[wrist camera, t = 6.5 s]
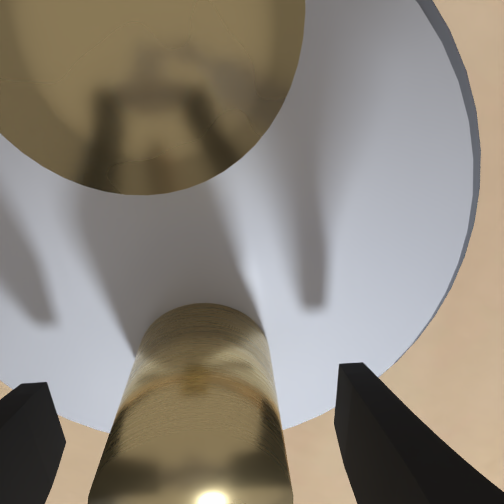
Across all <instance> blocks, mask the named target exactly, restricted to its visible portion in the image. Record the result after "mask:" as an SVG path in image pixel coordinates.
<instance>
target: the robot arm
mask: <svg viewBox="0 0 504 504" xmlns="http://www.w3.org/2000/svg"><path fill="white" fill-rule="evenodd" d="M334 426H335V430H336V434H337V439H338V443H339V447H340V451H341V455H342V459H343V463H344V467H345V470H346V472H347V475H348V478H349V481H350V484H351V487H352V490H353V492H354V495H355V498H356V501H357V504H504V492H503V491H502V490H500V489H499V488H498V487H497V486H495V485H494V484H493V483H491V482H490V481H489V480H488V479H487V478H485V477H484V476H483V475H482V474H480V473H479V472H478V471H477V470H476V469H474V468H473V467H472V466H471V465H470V464H469V463H467V462H466V461H465V460H464V459H463V458H462V457H461V456H459V455H458V454H457V453H456V452H455V451H454V450H453V449H451V448H450V447H449V446H448V445H447V444H446V443H445V442H444V441H443V440H441V439H440V438H439V437H438V436H437V435H436V434H435V433H434V432H433V431H432V430H431V429H430V428H429V427H428V426H426V425H425V424H424V423H423V422H422V421H421V420H420V419H419V418H418V417H417V416H416V415H415V414H414V413H413V412H412V411H411V410H410V409H409V408H408V407H407V406H406V405H405V404H404V403H403V402H402V401H401V400H400V399H399V398H398V397H397V396H396V395H395V394H394V393H393V392H392V391H391V390H390V389H389V388H388V387H387V386H386V385H385V384H384V383H383V382H382V381H381V380H380V379H379V378H378V377H377V376H376V375H375V374H374V373H373V372H372V371H371V370H370V369H369V368H368V367H367V366H366V365H365V364H364V363H363V362H358V363H342V364H339V369H338V381H337V393H336V405H335V417H334ZM65 444H66V440H65V437H64V434H63V431H62V428H61V425H60V421H59V418H58V415H57V412H56V409H55V406H54V403H53V399H52V396H51V393H50V390H49V387H48V384H47V382H37V383H21V384H20V385H19V386H17V387H16V388H15V389H13V390H12V391H11V392H10V393H8V394H7V395H6V396H4V397H3V398H2V399H1V400H0V504H45V502H46V499H47V497H48V495H49V492H50V490H51V488H52V485H53V482H54V479H55V476H56V473H57V470H58V467H59V464H60V460H61V457H62V454H63V451H64V447H65Z"/></svg>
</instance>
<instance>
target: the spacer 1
mask: <svg viewBox="0 0 504 504" xmlns="http://www.w3.org/2000/svg"><path fill="white" fill-rule="evenodd" d="M305 11H306V10H305V0H0V134H1V135H2V136H3V137H5V138H6V139H7V140H8V141H9V142H10V143H12V144H13V145H14V146H15V147H16V148H18V149H19V150H20V151H21V152H22V153H24V154H25V155H26V156H28V157H29V158H31V159H32V160H34V161H35V162H37V163H38V164H40V165H41V166H43V167H44V168H46V169H48V170H50V171H52V172H54V173H56V174H58V175H59V176H61V177H63V178H65V179H68V180H70V181H73V182H75V183H78V184H81V185H83V186H86V187H90V188H93V189H97V190H101V191H104V192H110V193H117V194H124V195H156V194H165V193H171V192H175V191H179V190H183V189H187V188H190V187H193V186H195V185H198V184H200V183H203V182H206V181H207V180H209V179H211V178H213V177H215V176H217V175H218V174H220V173H222V172H224V171H225V170H227V169H228V168H229V167H231V166H232V165H233V164H235V163H236V162H237V161H239V160H240V159H241V158H242V157H243V156H244V155H245V154H246V153H247V152H248V151H250V150H251V149H252V148H253V147H254V146H255V145H256V143H257V142H258V141H259V140H260V139H261V137H262V136H263V135H264V134H265V132H266V131H267V130H268V129H269V127H270V126H271V124H272V122H273V121H274V119H275V117H276V116H277V114H278V112H279V111H280V109H281V107H282V105H283V103H284V101H285V98H286V96H287V94H288V92H289V90H290V88H291V85H292V82H293V78H294V75H295V72H296V69H297V66H298V62H299V57H300V52H301V47H302V42H303V36H304V23H305Z"/></svg>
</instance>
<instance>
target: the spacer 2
mask: <svg viewBox="0 0 504 504" xmlns="http://www.w3.org/2000/svg"><path fill="white" fill-rule="evenodd" d="M88 504H293V492H292V486H291V480H290V474H289V468H288V461H287V455H286V449H285V443H284V436H283V430H282V424H281V418H280V412H279V405H278V399H277V393H276V387H275V381H274V374H273V368H272V362H271V356H270V350H269V345H268V342H267V339H266V337H265V335H264V333H263V331H262V330H261V329H260V327H259V326H258V325H257V324H256V323H255V322H254V321H253V320H252V319H251V318H249V317H248V316H247V315H245V314H244V313H242V312H240V311H238V310H236V309H233V308H231V307H228V306H224V305H220V304H214V303H194V304H189V305H184V306H181V307H177V308H175V309H173V310H170V311H168V312H167V313H165V314H163V315H162V316H160V317H159V318H158V319H157V320H155V321H154V322H153V323H152V324H151V325H150V326H149V328H148V329H147V331H146V332H145V334H144V336H143V338H142V340H141V343H140V346H139V349H138V352H137V355H136V358H135V361H134V364H133V367H132V370H131V372H130V375H129V378H128V381H127V384H126V387H125V390H124V393H123V396H122V399H121V402H120V405H119V408H118V410H117V413H116V416H115V419H114V422H113V425H112V428H111V431H110V434H109V437H108V440H107V443H106V446H105V449H104V451H103V454H102V457H101V460H100V463H99V466H98V469H97V472H96V475H95V478H94V481H93V484H92V487H91V490H90V493H89V496H88Z"/></svg>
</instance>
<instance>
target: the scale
mask: <svg viewBox="0 0 504 504" xmlns="http://www.w3.org/2000/svg"><path fill="white" fill-rule="evenodd" d="M305 10H306V11H305V23H304V36H303V42H302V47H301V52H300V57H299V62H298V66H297V69H296V72H295V75H294V78H293V82H292V85H291V88H290V90H289V92H288V94H287V96H286V98H285V101H284V103H283V105H282V107H281V109H280V111H279V112H278V114H277V116H276V117H275V119H274V121H273V122H272V124H271V126H270V127H269V129H268V130H267V131H266V132H265V134H264V135H263V136H262V137H261V139H260V140H259V141H258V142H257V143H256V145H255V146H254V147H253V148H252V149H251V150H250V151H248V152H247V153H246V154H245V155H244V156H243V157H242V158H241V159H240V160H239V161H237V162H236V163H235V164H233V165H232V166H231V167H229V168H228V169H227V170H225V171H224V172H222V173H220V174H218V175H217V176H215V177H213V178H211V179H209V180H207V181H206V182H203V183H200V184H198V185H195V186H193V187H190V188H187V189H183V190H179V191H175V192H171V193H165V194H156V195H124V194H117V193H110V192H104V191H101V190H97V189H93V188H90V187H86V186H83V185H81V184H78V183H75V182H73V181H70V180H68V179H65V178H63V177H61V176H59V175H58V174H56V173H54V172H52V171H50V170H48V169H46V168H44V167H43V166H41V165H40V164H38V163H37V162H35V161H34V160H32V159H31V158H29V157H28V156H26V155H25V154H24V153H22V152H21V151H20V150H19V149H18V148H16V147H15V146H14V145H13V144H12V143H10V142H9V141H8V140H7V139H6V138H5V137H3V136H2V135H1V134H0V380H1V381H2V382H3V383H5V384H6V385H7V386H9V387H10V388H11V389H15V388H16V387H17V386H19V385H20V384H21V383H37V382H47V384H48V387H49V390H50V393H51V396H52V399H53V403H54V406H55V409H56V412H57V414H58V415H60V416H62V417H64V418H66V419H69V420H71V421H74V422H77V423H80V424H82V425H85V426H88V427H91V428H93V429H96V430H99V431H103V432H107V433H110V431H111V428H112V425H113V422H114V419H115V416H116V413H117V410H118V408H119V405H120V402H121V399H122V396H123V393H124V390H125V387H126V384H127V381H128V378H129V375H130V372H131V370H132V367H133V364H134V361H135V358H136V355H137V352H138V349H139V346H140V343H141V340H142V338H143V336H144V334H145V332H146V331H147V329H148V328H149V326H150V325H151V324H152V323H153V322H154V321H155V320H157V319H158V318H159V317H160V316H162V315H163V314H165V313H167V312H168V311H170V310H173V309H175V308H177V307H181V306H184V305H189V304H194V303H214V304H220V305H224V306H228V307H231V308H233V309H236V310H238V311H240V312H242V313H244V314H245V315H247V316H248V317H249V318H251V319H252V320H253V321H254V322H255V323H256V324H257V325H258V326H259V327H260V329H261V330H262V331H263V333H264V335H265V337H266V339H267V342H268V345H269V350H270V356H271V362H272V368H273V374H274V381H275V387H276V393H277V399H278V405H279V412H280V418H281V424H282V430H284V429H287V428H290V427H293V426H296V425H298V424H301V423H303V422H305V421H308V420H310V419H312V418H315V417H317V416H319V415H322V414H323V413H325V412H327V411H329V410H331V409H332V408H334V407H335V405H336V393H337V381H338V369H339V364H342V363H358V362H363V363H364V364H365V365H366V366H367V367H368V368H369V369H370V370H371V371H372V372H373V373H374V374H375V375H376V376H377V377H379V376H381V375H382V374H383V373H384V372H385V371H386V370H388V369H389V368H390V367H391V366H392V365H393V364H395V363H396V362H397V361H398V360H399V359H400V357H401V356H402V355H403V354H404V353H405V352H406V351H407V350H408V349H409V348H410V347H411V346H412V345H413V344H414V342H415V341H416V340H417V339H418V338H419V336H420V335H421V334H422V332H423V331H424V330H425V328H426V327H427V326H428V324H429V323H430V322H431V320H432V319H433V318H434V316H435V315H436V313H437V311H438V310H439V308H440V306H441V304H442V303H443V301H444V299H445V298H446V296H447V294H448V292H449V291H450V289H451V287H452V285H453V282H454V280H455V278H456V275H457V273H458V271H459V268H460V266H461V264H462V261H463V259H464V257H465V253H466V250H467V247H468V243H469V240H470V236H471V233H472V229H473V226H474V221H475V215H476V209H477V202H478V196H479V189H480V157H481V149H480V139H479V130H478V121H477V112H476V107H475V103H474V99H473V95H472V92H471V88H470V84H469V80H468V76H467V72H466V69H465V66H464V64H463V61H462V59H461V56H460V54H459V52H458V49H457V47H456V44H455V42H454V39H453V37H452V34H451V32H450V30H449V28H448V26H447V25H446V23H445V21H444V19H443V18H442V16H441V14H440V13H439V11H438V9H437V8H436V6H435V4H434V2H433V1H432V0H305Z"/></svg>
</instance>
